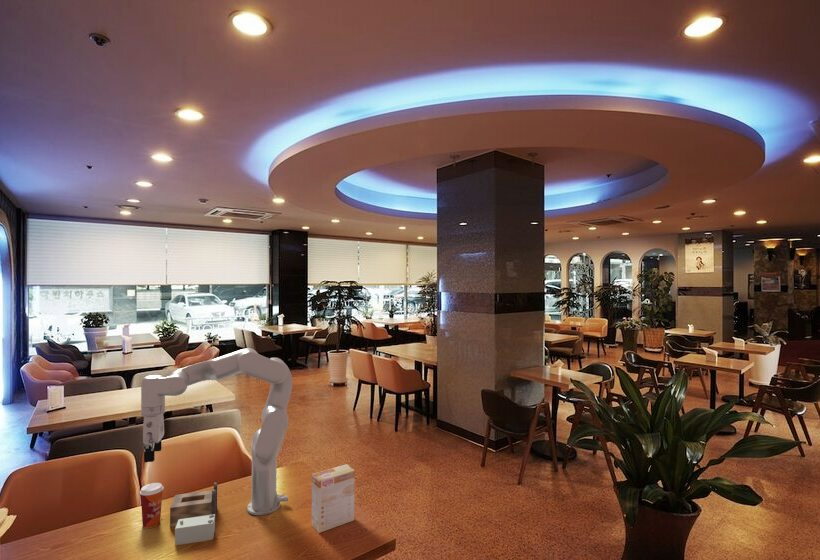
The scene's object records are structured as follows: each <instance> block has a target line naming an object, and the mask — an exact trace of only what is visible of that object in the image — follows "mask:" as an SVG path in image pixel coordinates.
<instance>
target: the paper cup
mask: <svg viewBox="0 0 820 560" xmlns="http://www.w3.org/2000/svg"><path fill="white" fill-rule="evenodd" d="M163 490H164V485H162V483H161V482H151V483H148V484H145V485H144V486H142V487H141V489H140V491H139V494H140V503H141V507H140V508H141V520H142V522H141V523H142V527H143V529H152V528H154V527H157V526H159V524H160V523H161V517H162V515H161V514H162V504H163V503H162V502H163Z"/></svg>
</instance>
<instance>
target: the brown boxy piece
mask: <svg viewBox="0 0 820 560" xmlns="http://www.w3.org/2000/svg"><path fill="white" fill-rule="evenodd" d="M217 509H218V482H214V483H213V489H210V490H203V491H196V492H195V491H194V492H189V493H179V494H175V495H174V498H173V499H172V503H171V504H170V508H169V527H176V525H177V522H178V520H179V519H185V518H192V517H199V516H206V515H213V514H215V515H216V511H217Z"/></svg>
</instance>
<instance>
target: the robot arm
mask: <svg viewBox="0 0 820 560" xmlns="http://www.w3.org/2000/svg"><path fill="white" fill-rule="evenodd" d="M240 373H244V374H246V375H248V376H250V377H253V378H256V379H257V380H262V381H263V382H266V383H269V384H270V387H269V392H268V396H267V398H266V401H265V404H264V407H263V409H262V412H261V422H262V424H261V428H259V429H257V430H256V431H254V433H253V435H252V437H251V442H250V445H251V492H250V493H251V498H250V500H251V501H250V502H249V503H248V505H247V507H246V510H247V512H248V513H249V514H250V515H254V516H266V515H269V514H272V513H274V512H276V511H278V509H280V507H281V502H283V503H284V502H289V496H288V495H285V493H284V494H279V493H278V491H277V469H278V466H277V465H278V463H277V461H278V455H279V453H280V451H281V448H282V445H283V442H284V440H285V436H286V434H287V431H288V427H289V421H290V420H289V419H290V418H289V415H288V412H287V409H288V405H289V401H290V397H291V395H292V391H293V377H292V376H293V375H292V372H291V370H290V368H289V367H288V365H287V364H286V363H285V362H284V360H282V359H281V358H279V357H270V358H269V357H266V356H264V355H261V353H260V354H259V353H258V352H257V351H256V350H255V349H254V348H252V347H246V348H242V349H239V350H236V351H233V352H230V353H227V354H224V355H221V356H218V357H216V358H213V359H208V360H204V361H202V362H201V361H200V362H196V363H193V364H191V365H187V366H185V367H182V368H179V369H177V370H176V369H175V370H173V371H172V372H171V373H170V374H169V375H168V376H166V377H165V376H164V375H161V374H151V375H146V376H144V377H143V378H142V379H141V380H140V381H141V382H140V383H141V384H140V393H141V396H140V397H141V398H140V402H141V403H140V407H141V408H140V416H141V417H143V423H142V424H143V425H142V426H143V427H142V431H143V432H142V443H143V444H144V447H143V463H151V462H152V463H154V461H155V453H156V452H161V451H162V438H163V437H164V436H165V420H164V419H165V417H164V414H165V413H166V397H167V396H170V397H177V396H180V395H183V394H184V393H185V392H186V390H187V389H188V387H189V386H192V385H194V384H197V383H201V382H205V381H221V380H224V379H227V378H229V377H232V376H235V375H237V374H240Z"/></svg>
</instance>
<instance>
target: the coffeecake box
mask: <svg viewBox="0 0 820 560" xmlns="http://www.w3.org/2000/svg"><path fill="white" fill-rule="evenodd" d="M355 472H356V471H355V469H354V468H352V467H351V466H350V465H349V464H346V463H345V464H342V465H339V466H335V467H332V468H328V469H324V470H322V471H317V472H314V473H311V526H312V528H314V529H315V531H316V532H317V534H321V533H323V532H325V531H329V530H330V529H334V528H336V527H340V526H342V525H346V524H348V523H350V522H353V521H355V486H356V485H355V484H356V483H355V481H356V480H355Z"/></svg>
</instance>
